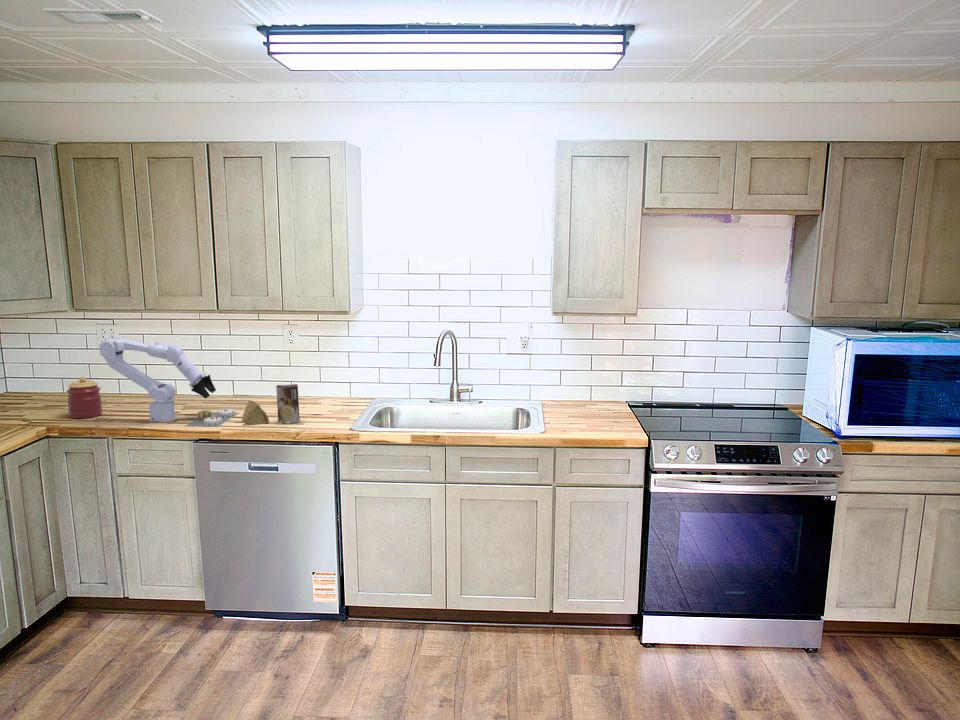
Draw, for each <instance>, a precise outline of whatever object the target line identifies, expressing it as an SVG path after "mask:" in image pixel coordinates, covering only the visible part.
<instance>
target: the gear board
mask: <svg viewBox="0 0 960 720" xmlns="http://www.w3.org/2000/svg"><path fill="white" fill-rule="evenodd" d="M237 415H239V412H236V411H235V409H232V408H229V409H228V408H225V409H220V410H217V412H215V411H211V418H206V419H204V420H198V418H196V419H194V420H193V421H191V422H189V423H187V424H186V425H185V427H191V428H193V427H196V428H197V427H201V428H203V427H204V428H218V427H220V426H222V425H223V424H225V423H226V422H228V421H229V420H231V419H232V418H234V417H235V416H237Z"/></svg>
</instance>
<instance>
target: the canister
mask: <svg viewBox="0 0 960 720" xmlns="http://www.w3.org/2000/svg"><path fill="white" fill-rule="evenodd" d="M78 379H79V380H76V381H72V382H71V383H70V384H68V385H67V386H68V389H67V390H66V393H67V398H66V400H67V406H68V407H67V408H68V412H67V413H68V417H69V418H70V417H71V418H70V419H73V418H85V419H91V418H90V417H92V418H96V416H97V417H99V415H100V416H101V415H102V414H103V407H102V395H101V393H100V391H101V387H100V386H98V384H99V383H98V382H96V381H94V380H92V379H87V378H86V377H85V376H80V377H79V378H78Z"/></svg>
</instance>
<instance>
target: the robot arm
mask: <svg viewBox="0 0 960 720" xmlns="http://www.w3.org/2000/svg"><path fill="white" fill-rule="evenodd" d="M98 349H99V355H100V356H102V357H103V358H104V359H105V361H106V363H107V364H108V367H109V368H111V369H112V370H114V371H115V372H117V373H119V374H120V375H121V376H123V377H125V378H126V379H128V380H130V381H131V382H133V383H134V384H136V385H138V386H140V387H141V388H143V389H144V390H146V391H147V393H148V395H149V396H151V397H152V398H153V400H154V401H152V402H151V403H150V404H149V407H148V409H149V410H148V411H149V423H152V422H157V423H158V422H159V423H165V422H166V423H167V422H172V421H175V420H176V413H175V412H176V411H175V399H174V397H175V396H176V394H177V393H176V392H177V391H176V389H175V387H174V386H173V385H172V384H166V383H165V382H163V381H159V380H157V379H154V378H152V377H151V376H149V375H148V374H146V373H145V372H143V371H141V370H140V369H139V368H137V367H135V366H134V365H132V364H130V363H129V362H127V361H126V360H124V352H125V351H127V350H129V351H134V352H142V353H146V354H147V356H149V357H153V358H158V359H162V360H166V362H169V363H172V364H173V365H174V366H175V367H176V368H177V370H178V371H179V372H180V373H181V374H182V375H183V376H184V378H185V379H186V380H187V381H188V382H190V383H189V384H188V386H189V387H190V388H191V389H190V390H191V392H194V393H196V394H198V395H200V397H203V398H204V399H207V398H209V397H211V396H210V393H211V394H214V393H215V392H216V391H217V389H216V387H215V385H214V383H213V381H212V378H211V375H210V374H208V375H207V373H206V372H205V371H202V372H200V371H199V369H198V368H197V367H196V366H195V365H194V364H193V363H192V361H190V360H189V358H187V356H186V355H185V354H184V351H183V349H182V348H181V347H179V346H176V345H175V346H171V345H169V344H168V345H165V344H160V342H157V341H156V342H152V343H150V344H147V343H142V342H138V341H134V340H129V339H127V338H119V337H113V338H111V339H108V340H103V341H102V342H100V344H99V347H98ZM209 392H210V393H209Z"/></svg>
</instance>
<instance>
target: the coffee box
mask: <svg viewBox="0 0 960 720" xmlns="http://www.w3.org/2000/svg"><path fill="white" fill-rule="evenodd" d="M275 387H276V403H277V405H276V407H277V421H278V422H277V424H278V423H286V424H288V423H287V422H301V420H300V403H299V402H300V401H299V385H298V384H295V383H294V384H276V386H275Z"/></svg>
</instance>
